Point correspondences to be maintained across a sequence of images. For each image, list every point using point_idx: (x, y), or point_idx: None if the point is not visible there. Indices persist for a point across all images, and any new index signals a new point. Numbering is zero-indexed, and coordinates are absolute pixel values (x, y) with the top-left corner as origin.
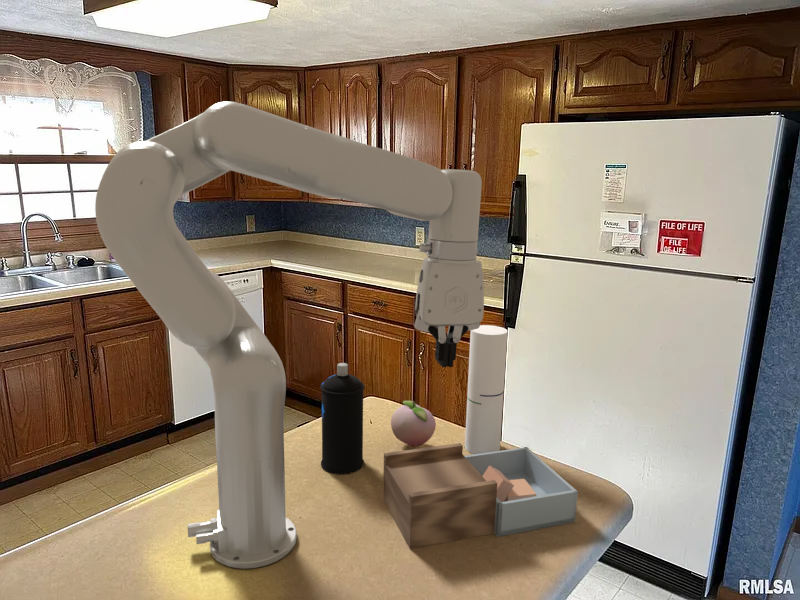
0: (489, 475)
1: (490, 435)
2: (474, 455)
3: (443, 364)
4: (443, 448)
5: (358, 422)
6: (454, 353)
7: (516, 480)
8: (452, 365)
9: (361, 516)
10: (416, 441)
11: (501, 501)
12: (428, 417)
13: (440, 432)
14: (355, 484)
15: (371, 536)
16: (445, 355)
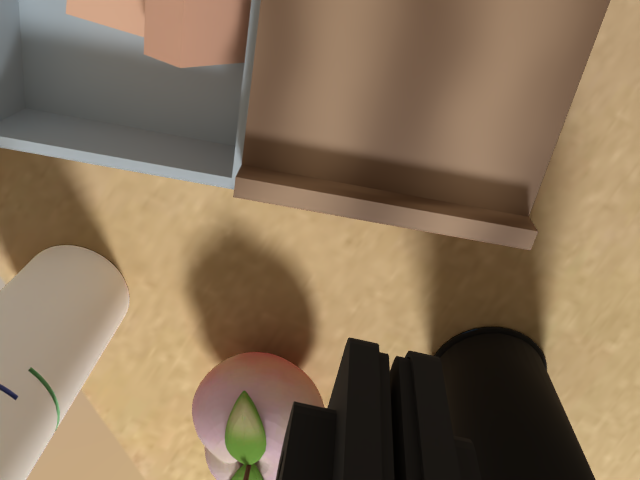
0: (202, 33)
1: (48, 280)
2: (181, 172)
3: (438, 376)
4: (314, 190)
5: (496, 440)
6: (305, 449)
7: (98, 16)
8: (354, 343)
9: (594, 134)
10: (278, 357)
11: None
12: (222, 408)
13: (154, 401)
14: (513, 277)
15: (632, 32)
16: (440, 437)
